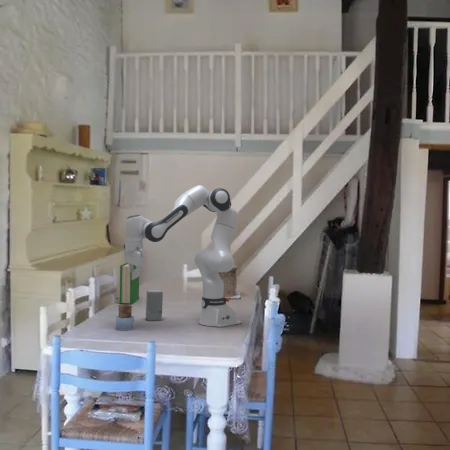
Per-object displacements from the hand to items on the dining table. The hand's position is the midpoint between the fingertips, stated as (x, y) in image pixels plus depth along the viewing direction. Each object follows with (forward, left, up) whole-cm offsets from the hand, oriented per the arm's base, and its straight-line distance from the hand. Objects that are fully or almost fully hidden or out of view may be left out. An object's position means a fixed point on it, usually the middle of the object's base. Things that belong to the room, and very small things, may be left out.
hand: (134, 273), depth 280 cm
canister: (+7, +5, -27) cm, 29 cm away
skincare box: (-14, -8, -27) cm, 32 cm away
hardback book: (-18, -60, -27) cm, 69 cm away
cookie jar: (-84, -56, -28) cm, 105 cm away
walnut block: (+7, +5, -21) cm, 23 cm away
